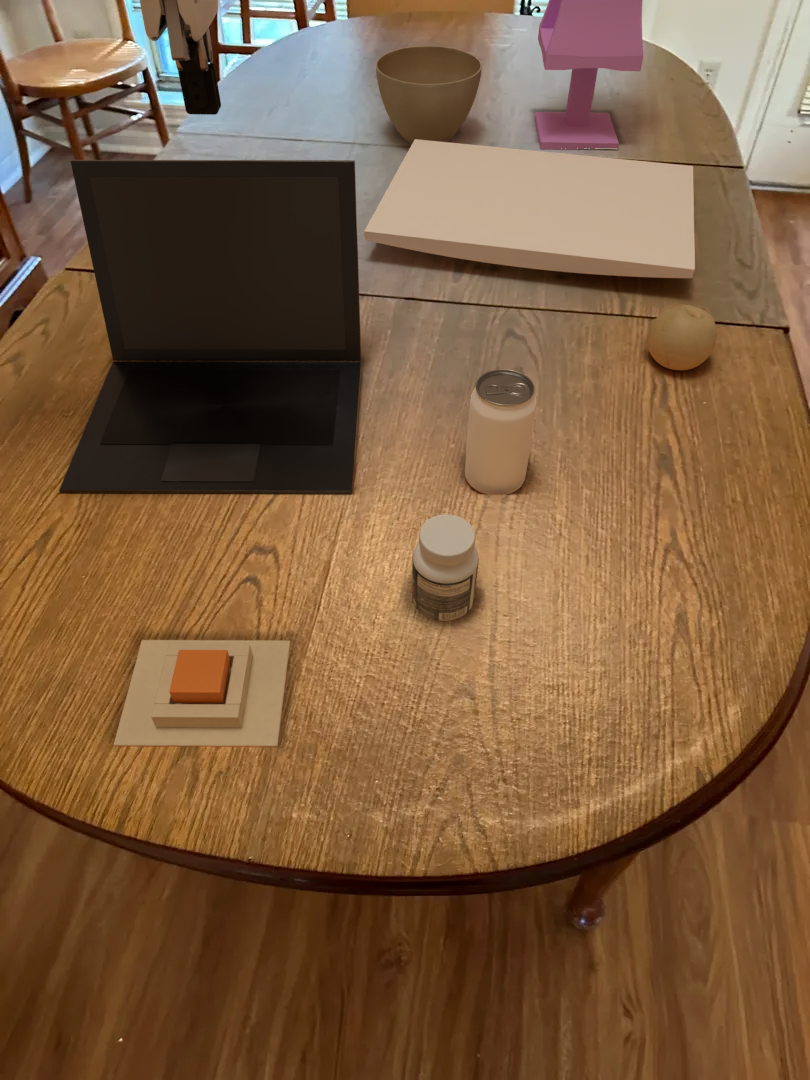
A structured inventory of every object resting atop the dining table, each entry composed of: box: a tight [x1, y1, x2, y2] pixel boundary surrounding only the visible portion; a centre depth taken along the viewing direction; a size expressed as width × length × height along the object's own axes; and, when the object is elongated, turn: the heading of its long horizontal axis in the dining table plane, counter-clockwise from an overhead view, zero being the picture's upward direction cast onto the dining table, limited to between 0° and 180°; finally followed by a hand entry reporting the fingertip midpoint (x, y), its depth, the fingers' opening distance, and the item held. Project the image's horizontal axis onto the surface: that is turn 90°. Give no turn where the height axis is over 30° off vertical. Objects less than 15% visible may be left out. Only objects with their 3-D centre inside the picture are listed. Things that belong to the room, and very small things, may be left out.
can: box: [464, 368, 537, 496], centre depth 80 cm, size 6×6×12 cm
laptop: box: [58, 360, 363, 496], centre depth 88 cm, size 22×30×2 cm
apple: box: [646, 303, 718, 371], centre depth 95 cm, size 8×8×8 cm
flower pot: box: [375, 45, 483, 145], centre depth 138 cm, size 18×18×12 cm
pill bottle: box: [411, 513, 480, 622], centre depth 69 cm, size 6×6×10 cm
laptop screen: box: [70, 159, 362, 362], centre depth 89 cm, size 22×30×1 cm
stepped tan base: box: [113, 639, 291, 748], centre depth 65 cm, size 13×10×3 cm
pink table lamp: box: [534, 0, 644, 150], centre depth 130 cm, size 16×16×35 cm
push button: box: [169, 650, 231, 703], centre depth 64 cm, size 4×4×2 cm
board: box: [363, 139, 696, 279], centre depth 119 cm, size 45×32×5 cm
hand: (204, 110), depth 78 cm, fingers closed
